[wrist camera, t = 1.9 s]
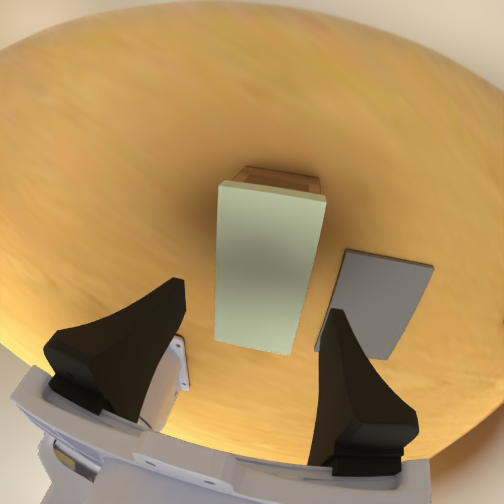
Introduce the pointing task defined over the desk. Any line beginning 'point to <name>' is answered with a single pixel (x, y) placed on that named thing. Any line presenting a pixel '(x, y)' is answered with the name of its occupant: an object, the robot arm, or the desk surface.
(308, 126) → the desk surface
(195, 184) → the desk surface
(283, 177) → the box
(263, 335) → the lid
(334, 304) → the mat
